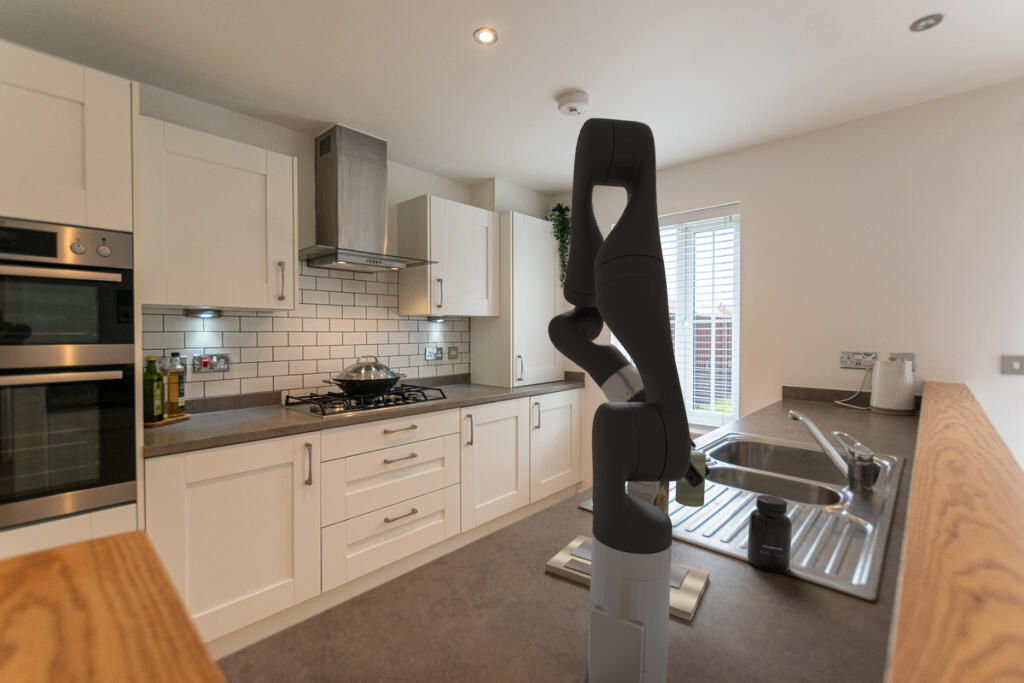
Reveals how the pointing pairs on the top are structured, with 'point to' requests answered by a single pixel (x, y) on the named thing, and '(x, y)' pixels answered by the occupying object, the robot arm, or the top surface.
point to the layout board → (683, 578)
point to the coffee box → (651, 493)
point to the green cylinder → (685, 490)
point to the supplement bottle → (770, 535)
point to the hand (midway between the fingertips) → (702, 479)
